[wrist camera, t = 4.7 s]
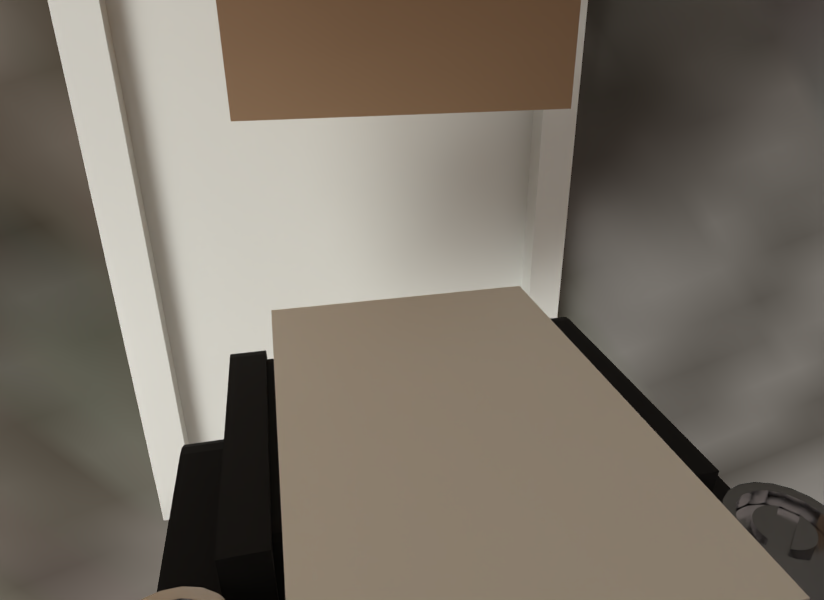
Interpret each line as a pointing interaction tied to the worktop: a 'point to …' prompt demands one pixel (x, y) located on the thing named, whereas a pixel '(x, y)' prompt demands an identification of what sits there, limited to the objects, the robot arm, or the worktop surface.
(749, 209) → the worktop surface
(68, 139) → the worktop surface
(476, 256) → the tray
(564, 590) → the label box
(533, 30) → the walnut block
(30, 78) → the worktop surface
